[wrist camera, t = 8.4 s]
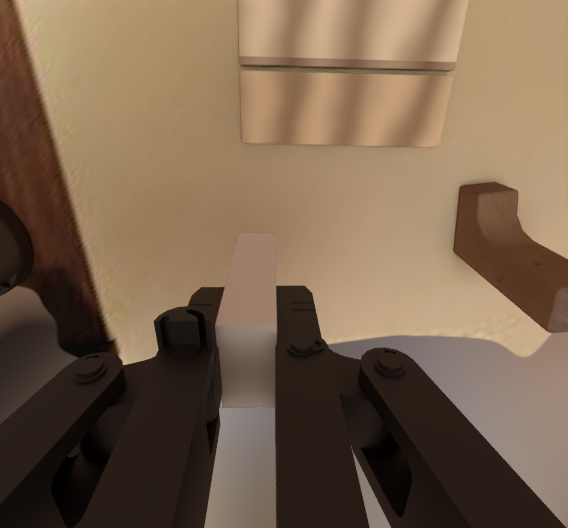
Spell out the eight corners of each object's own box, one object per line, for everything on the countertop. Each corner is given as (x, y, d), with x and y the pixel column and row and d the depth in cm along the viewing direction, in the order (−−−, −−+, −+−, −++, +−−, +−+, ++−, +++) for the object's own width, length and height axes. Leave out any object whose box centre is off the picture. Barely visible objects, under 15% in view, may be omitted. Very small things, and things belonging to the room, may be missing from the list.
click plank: (243, 141, 40) (241, 142, 38) (241, 71, 37) (240, 70, 35) (433, 145, 40) (439, 147, 39) (446, 77, 37) (452, 76, 36)
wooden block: (459, 185, 42) (573, 237, 26) (496, 181, 42) (635, 230, 26) (452, 253, 46) (548, 335, 30) (486, 249, 46) (602, 330, 29)
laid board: (241, 65, 36) (239, 64, 35) (239, -11, 34) (237, -16, 32) (447, 71, 37) (454, 69, 35) (462, -4, 34) (470, -9, 33)
